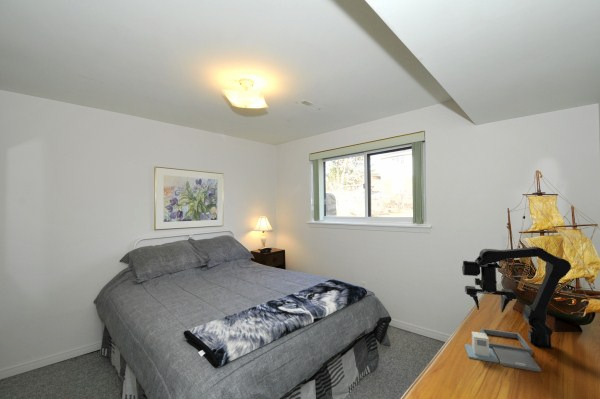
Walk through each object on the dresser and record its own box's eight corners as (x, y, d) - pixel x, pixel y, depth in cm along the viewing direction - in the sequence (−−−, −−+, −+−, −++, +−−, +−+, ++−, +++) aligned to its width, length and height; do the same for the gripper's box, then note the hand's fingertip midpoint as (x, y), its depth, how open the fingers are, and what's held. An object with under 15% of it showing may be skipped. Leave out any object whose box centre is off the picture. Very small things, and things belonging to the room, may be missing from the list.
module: (486, 350, 112) (485, 333, 112) (489, 357, 107) (488, 339, 107) (472, 348, 114) (471, 331, 114) (474, 354, 109) (474, 337, 109)
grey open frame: (519, 337, 122) (518, 333, 122) (546, 372, 97) (546, 367, 97) (480, 332, 128) (480, 328, 128) (496, 364, 103) (496, 359, 103)
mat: (491, 349, 113) (491, 348, 113) (498, 362, 104) (498, 361, 104) (464, 345, 117) (464, 344, 117) (468, 357, 108) (468, 356, 108)
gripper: (507, 274, 128) (508, 307, 128) (462, 271, 135) (463, 302, 135) (515, 280, 118) (517, 316, 117) (466, 276, 125) (467, 310, 125)
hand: (489, 310), depth 124 cm, fingers open, 9 cm apart
